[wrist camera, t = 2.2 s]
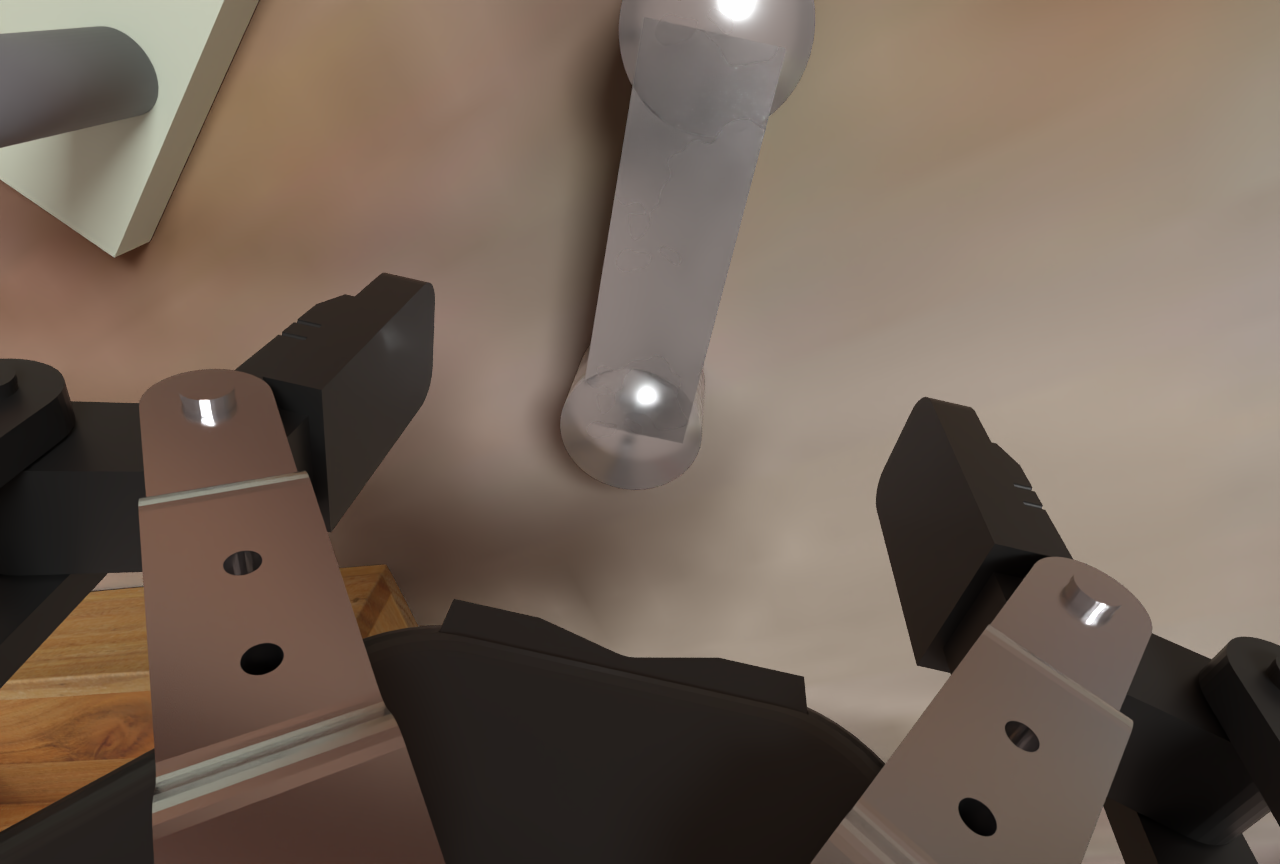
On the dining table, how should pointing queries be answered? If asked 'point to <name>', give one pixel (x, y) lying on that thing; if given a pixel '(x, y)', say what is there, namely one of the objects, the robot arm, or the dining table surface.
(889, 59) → the dining table surface
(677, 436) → the grey dumbbell
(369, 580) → the tray
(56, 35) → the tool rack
